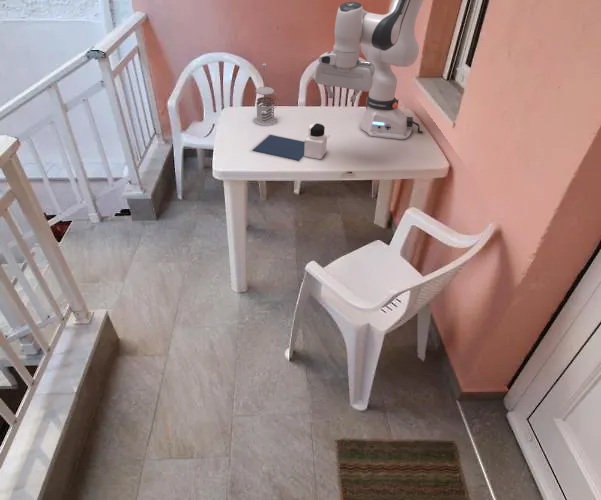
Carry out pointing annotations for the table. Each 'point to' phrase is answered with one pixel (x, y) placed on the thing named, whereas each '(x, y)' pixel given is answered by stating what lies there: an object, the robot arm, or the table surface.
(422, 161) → the table surface
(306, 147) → the medicine bottle
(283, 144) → the mat
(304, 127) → the table surface
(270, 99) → the french press
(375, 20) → the robot arm
